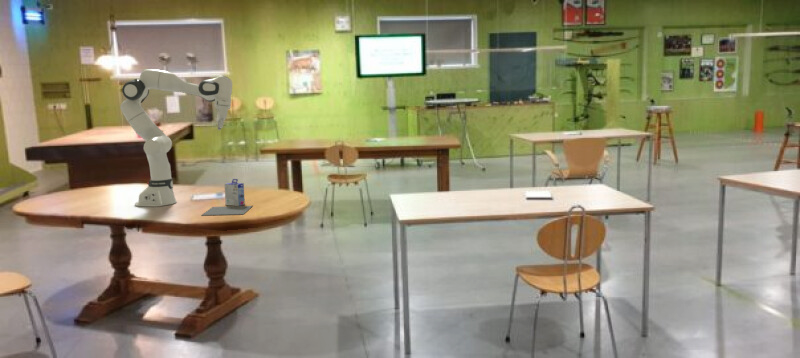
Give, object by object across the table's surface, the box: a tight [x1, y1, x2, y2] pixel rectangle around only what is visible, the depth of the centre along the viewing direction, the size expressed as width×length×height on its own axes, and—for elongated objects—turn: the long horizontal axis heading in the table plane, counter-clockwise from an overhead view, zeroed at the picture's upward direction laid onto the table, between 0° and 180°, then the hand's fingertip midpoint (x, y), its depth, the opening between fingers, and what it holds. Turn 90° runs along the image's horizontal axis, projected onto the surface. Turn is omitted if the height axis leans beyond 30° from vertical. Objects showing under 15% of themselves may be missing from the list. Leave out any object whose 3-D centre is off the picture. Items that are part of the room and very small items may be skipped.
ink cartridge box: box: [224, 178, 246, 206], centre depth 358 cm, size 10×6×14 cm, turn 65°
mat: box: [201, 205, 253, 217], centre depth 344 cm, size 22×20×1 cm
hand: (220, 128), depth 361 cm, fingers open, 8 cm apart
